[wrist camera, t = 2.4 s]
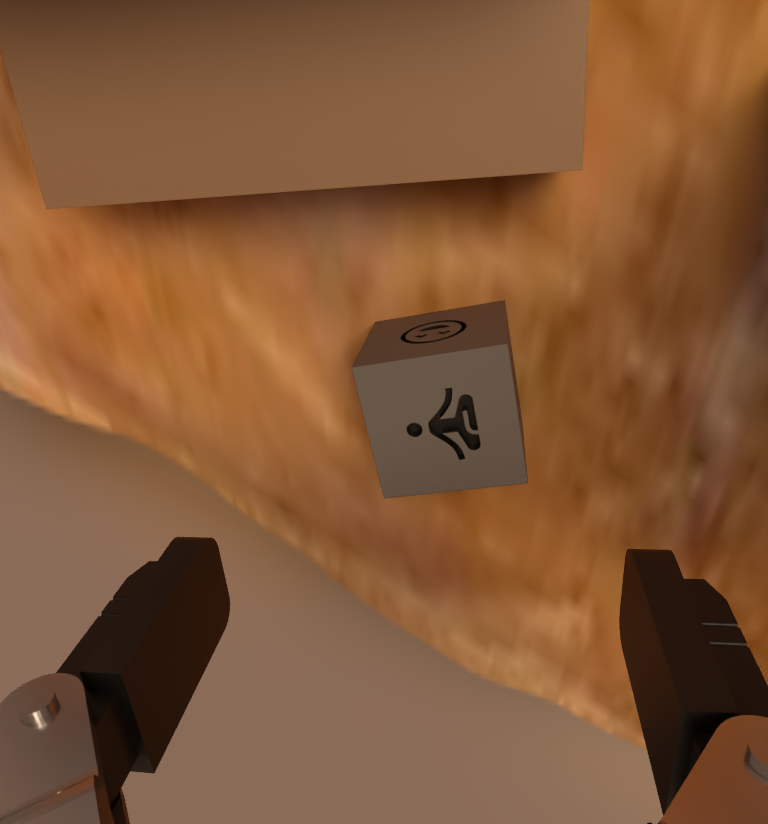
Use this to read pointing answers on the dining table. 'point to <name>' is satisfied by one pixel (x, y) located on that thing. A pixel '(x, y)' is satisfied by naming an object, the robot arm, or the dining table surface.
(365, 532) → the dining table surface
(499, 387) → the dice cube
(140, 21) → the board
